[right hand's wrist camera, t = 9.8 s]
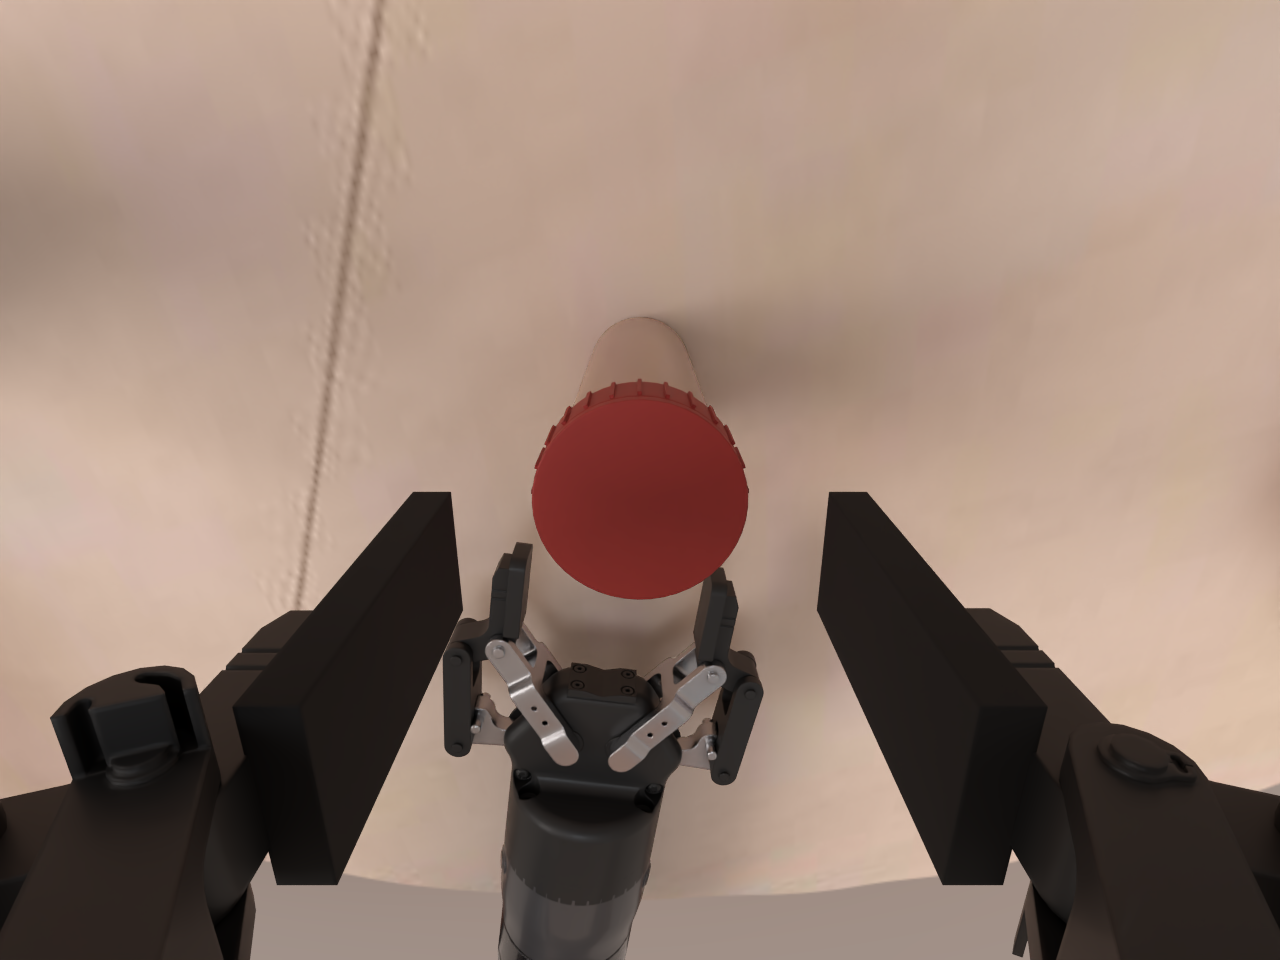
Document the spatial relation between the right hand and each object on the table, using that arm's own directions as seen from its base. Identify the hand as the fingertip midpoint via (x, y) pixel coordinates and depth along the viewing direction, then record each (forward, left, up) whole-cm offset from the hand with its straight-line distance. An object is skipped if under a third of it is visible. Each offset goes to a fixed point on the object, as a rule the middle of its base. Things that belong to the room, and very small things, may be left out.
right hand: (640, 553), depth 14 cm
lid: (0, 0, -3) cm, 3 cm away
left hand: (0, +7, -14) cm, 16 cm away
